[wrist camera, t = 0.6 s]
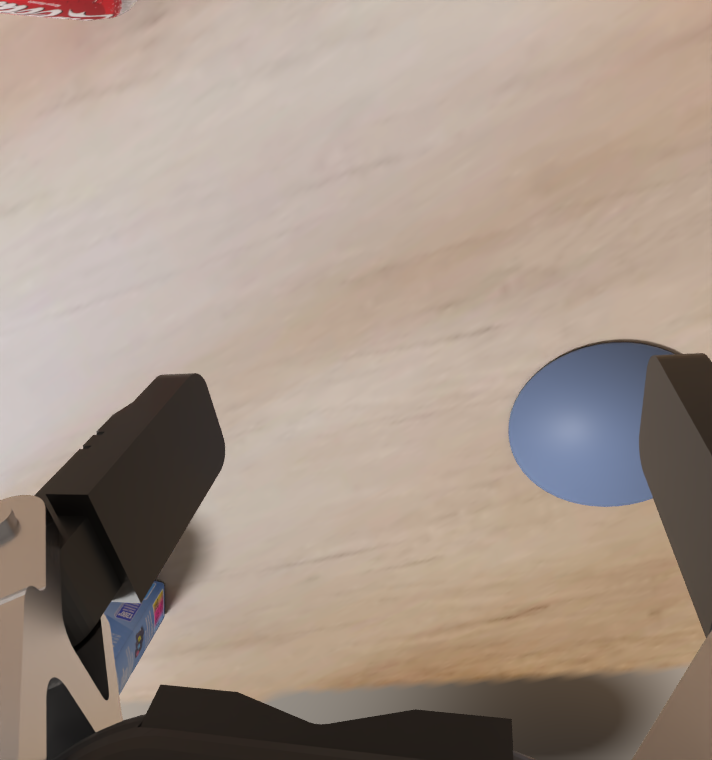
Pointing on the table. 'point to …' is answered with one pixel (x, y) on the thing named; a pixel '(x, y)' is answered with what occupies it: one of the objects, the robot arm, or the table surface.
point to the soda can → (67, 8)
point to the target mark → (585, 425)
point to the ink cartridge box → (134, 629)
